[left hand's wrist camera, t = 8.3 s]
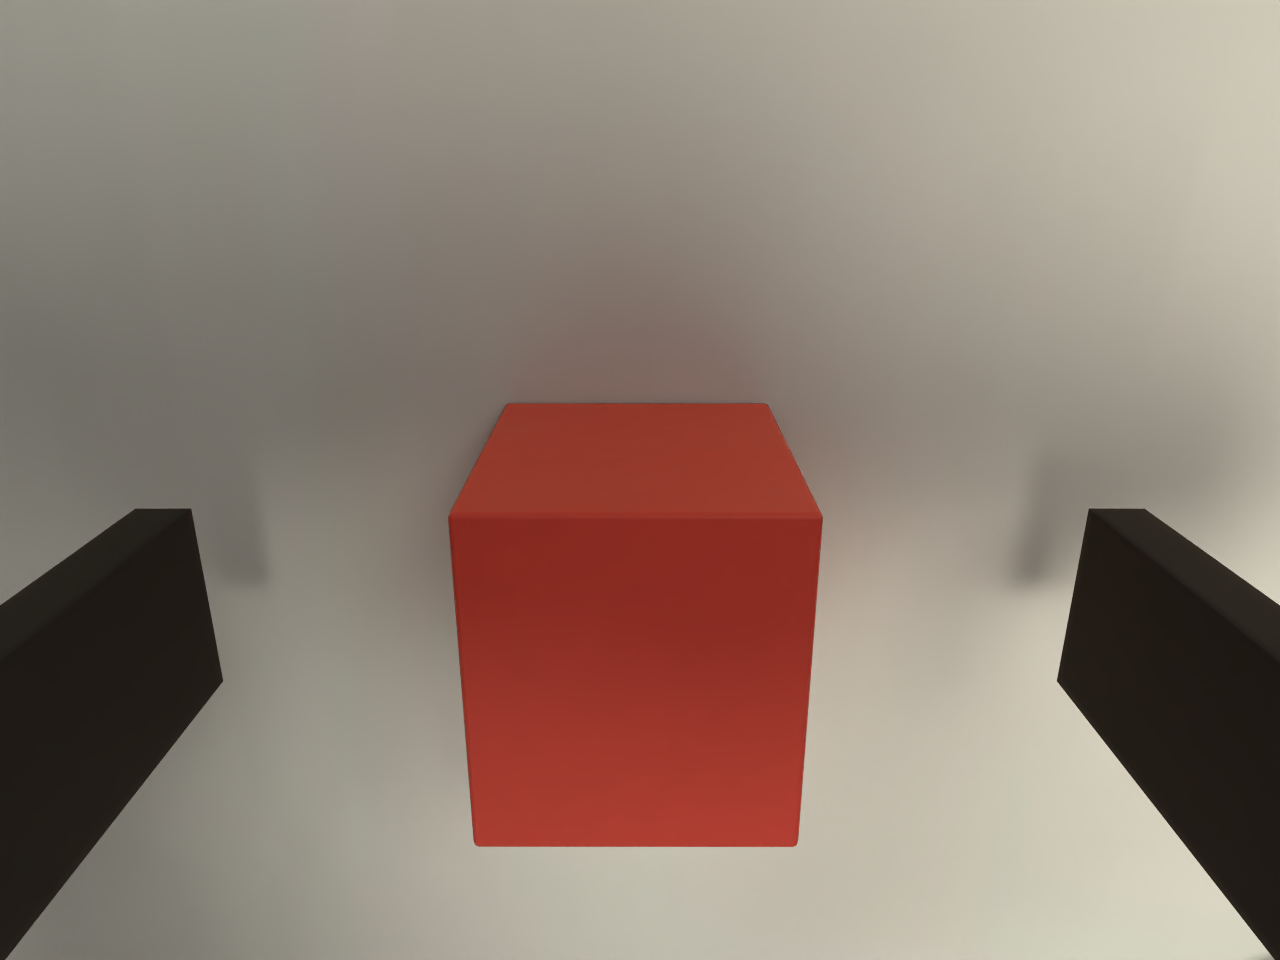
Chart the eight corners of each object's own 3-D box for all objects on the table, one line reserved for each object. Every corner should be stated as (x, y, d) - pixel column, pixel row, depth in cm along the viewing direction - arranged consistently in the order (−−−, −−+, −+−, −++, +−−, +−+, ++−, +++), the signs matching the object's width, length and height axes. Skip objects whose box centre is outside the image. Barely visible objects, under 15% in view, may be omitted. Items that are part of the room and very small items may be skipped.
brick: (755, 657, 16) (797, 848, 11) (518, 656, 16) (473, 849, 11) (768, 402, 14) (824, 514, 10) (505, 401, 14) (446, 514, 10)
